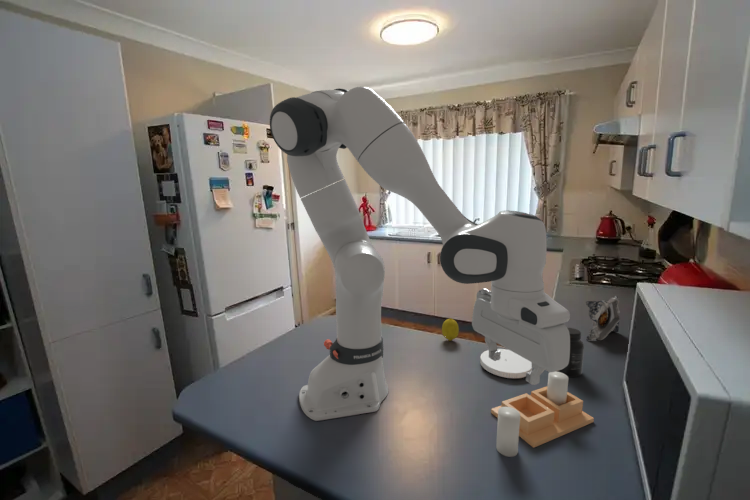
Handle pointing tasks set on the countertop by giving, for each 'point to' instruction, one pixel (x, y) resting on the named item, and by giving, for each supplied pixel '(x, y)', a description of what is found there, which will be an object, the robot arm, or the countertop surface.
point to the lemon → (450, 329)
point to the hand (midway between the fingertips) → (512, 370)
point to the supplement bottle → (574, 354)
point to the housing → (548, 411)
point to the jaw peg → (508, 431)
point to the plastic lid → (506, 364)
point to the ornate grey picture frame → (603, 318)
